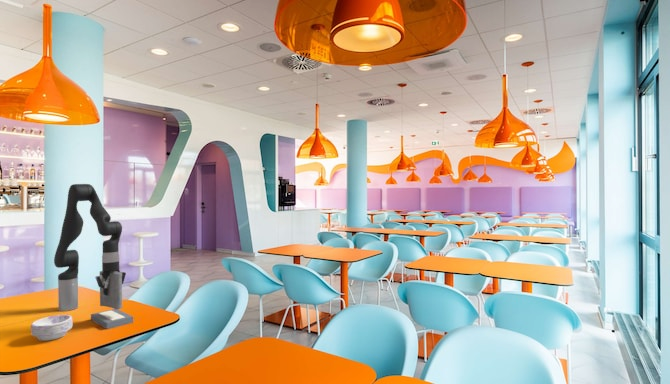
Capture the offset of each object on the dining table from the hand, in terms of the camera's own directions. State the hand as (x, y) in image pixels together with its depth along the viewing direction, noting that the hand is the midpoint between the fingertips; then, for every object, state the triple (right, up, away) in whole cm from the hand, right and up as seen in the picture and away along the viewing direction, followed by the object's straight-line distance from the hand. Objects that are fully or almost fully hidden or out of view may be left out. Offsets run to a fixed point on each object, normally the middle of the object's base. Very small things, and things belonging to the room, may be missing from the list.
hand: (111, 294), depth 197 cm
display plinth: (0, -14, 0) cm, 14 cm away
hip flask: (0, -6, 0) cm, 6 cm away
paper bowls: (-15, -14, -21) cm, 29 cm away
